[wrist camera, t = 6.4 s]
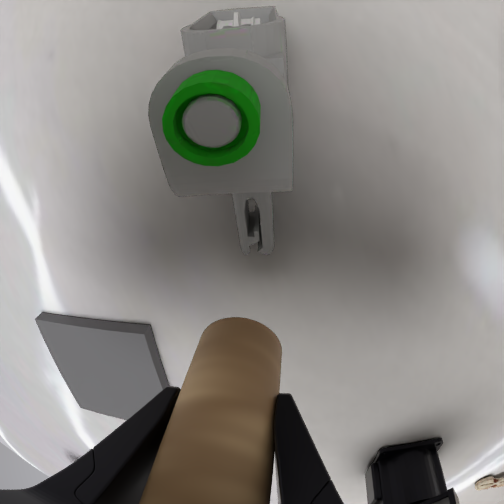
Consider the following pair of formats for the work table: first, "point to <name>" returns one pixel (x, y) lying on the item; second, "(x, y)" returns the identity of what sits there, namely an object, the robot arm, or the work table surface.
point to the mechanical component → (229, 116)
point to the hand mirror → (489, 483)
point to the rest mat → (105, 362)
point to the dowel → (222, 421)
